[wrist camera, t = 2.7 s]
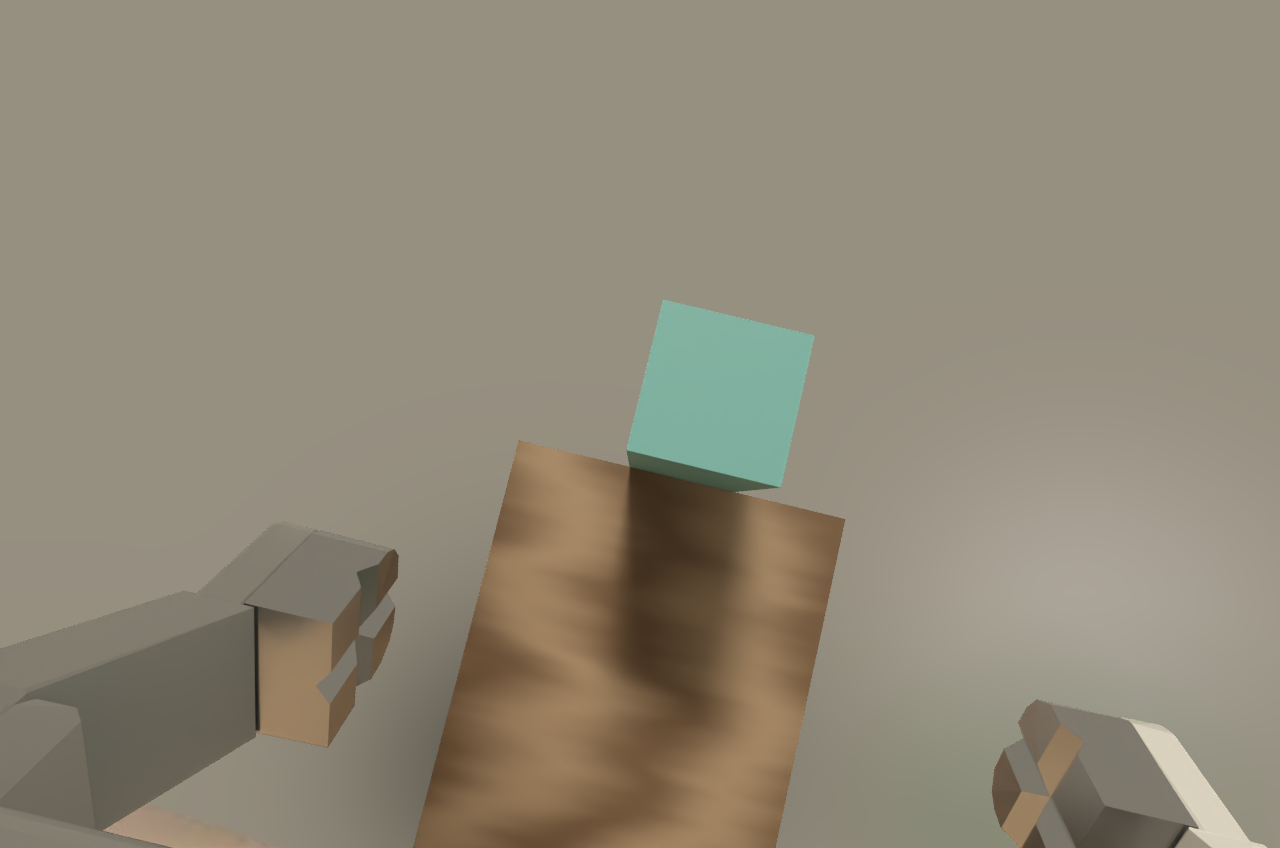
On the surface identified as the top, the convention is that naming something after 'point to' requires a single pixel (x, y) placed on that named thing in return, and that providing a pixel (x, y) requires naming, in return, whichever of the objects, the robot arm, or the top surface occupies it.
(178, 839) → the top surface
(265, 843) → the top surface
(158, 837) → the top surface
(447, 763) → the walnut stand
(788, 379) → the teal carton
